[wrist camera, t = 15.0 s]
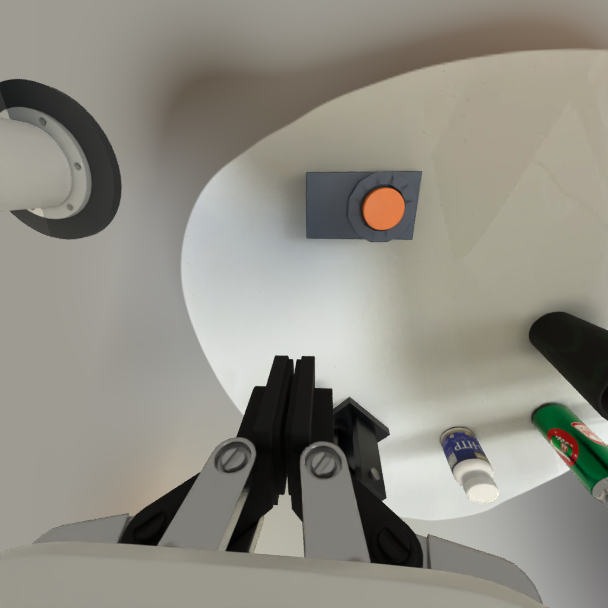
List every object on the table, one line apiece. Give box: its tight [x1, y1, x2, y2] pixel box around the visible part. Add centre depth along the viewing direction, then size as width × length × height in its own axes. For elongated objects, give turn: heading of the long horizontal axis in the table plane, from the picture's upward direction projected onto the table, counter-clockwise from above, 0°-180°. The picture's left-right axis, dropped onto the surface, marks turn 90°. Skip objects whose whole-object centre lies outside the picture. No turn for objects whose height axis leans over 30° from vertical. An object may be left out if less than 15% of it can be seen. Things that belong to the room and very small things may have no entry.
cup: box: [529, 312, 608, 420], centre depth 31 cm, size 8×8×12 cm
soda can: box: [533, 405, 608, 507], centre depth 36 cm, size 5×5×12 cm
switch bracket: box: [333, 397, 390, 501], centre depth 41 cm, size 9×7×12 cm
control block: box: [306, 171, 422, 242], centre depth 31 cm, size 12×7×4 cm, turn 90°
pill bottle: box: [440, 428, 499, 503], centre depth 41 cm, size 5×5×9 cm
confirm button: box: [362, 187, 405, 230], centre depth 29 cm, size 4×4×2 cm
